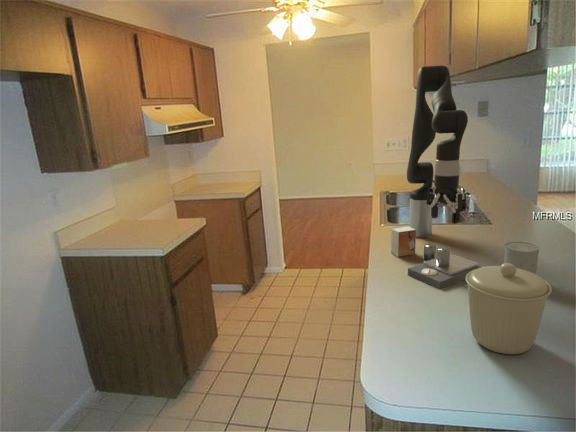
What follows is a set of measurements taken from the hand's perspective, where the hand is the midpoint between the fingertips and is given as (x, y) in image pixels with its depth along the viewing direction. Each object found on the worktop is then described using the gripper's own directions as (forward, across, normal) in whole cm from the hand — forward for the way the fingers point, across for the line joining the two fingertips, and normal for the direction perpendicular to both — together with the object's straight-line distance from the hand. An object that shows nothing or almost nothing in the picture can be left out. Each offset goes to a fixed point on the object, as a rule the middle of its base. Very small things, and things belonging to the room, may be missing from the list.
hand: (444, 220), depth 134 cm
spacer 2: (+16, 0, 0) cm, 16 cm away
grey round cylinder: (+20, -18, -15) cm, 31 cm away
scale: (+20, 0, -1) cm, 20 cm away
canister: (+20, -37, +21) cm, 46 cm away
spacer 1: (+20, +12, -7) cm, 24 cm away
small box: (+20, +23, -4) cm, 31 cm away
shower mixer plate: (+17, 0, -4) cm, 18 cm away
